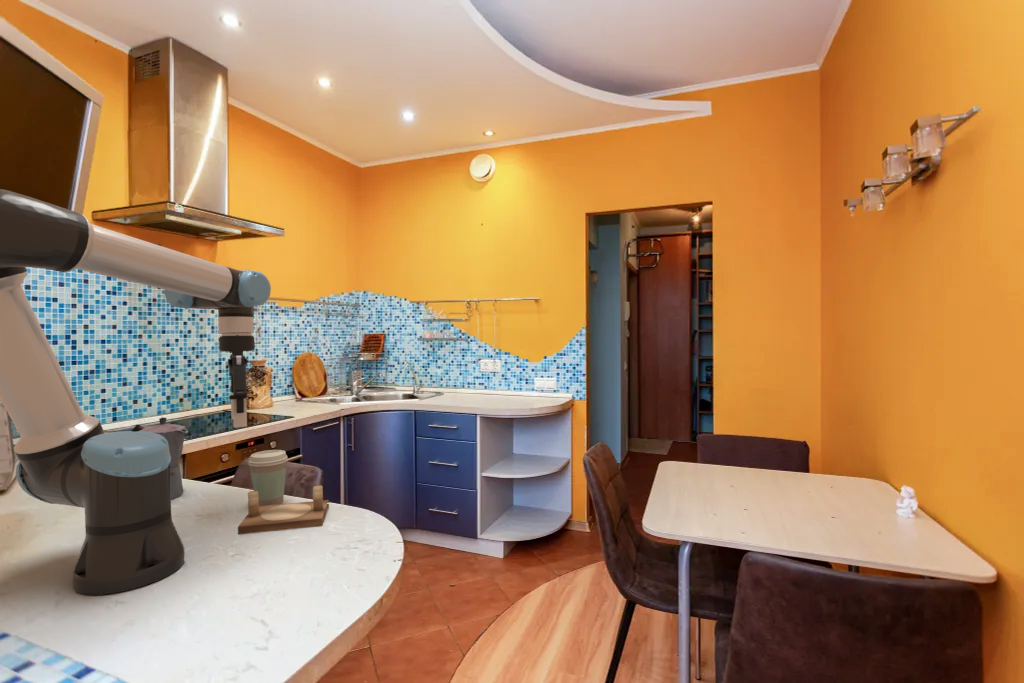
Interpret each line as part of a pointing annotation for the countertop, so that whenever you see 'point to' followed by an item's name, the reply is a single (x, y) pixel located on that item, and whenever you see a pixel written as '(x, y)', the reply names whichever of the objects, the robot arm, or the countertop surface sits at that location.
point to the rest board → (284, 514)
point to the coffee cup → (269, 475)
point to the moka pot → (170, 450)
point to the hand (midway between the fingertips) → (238, 422)
